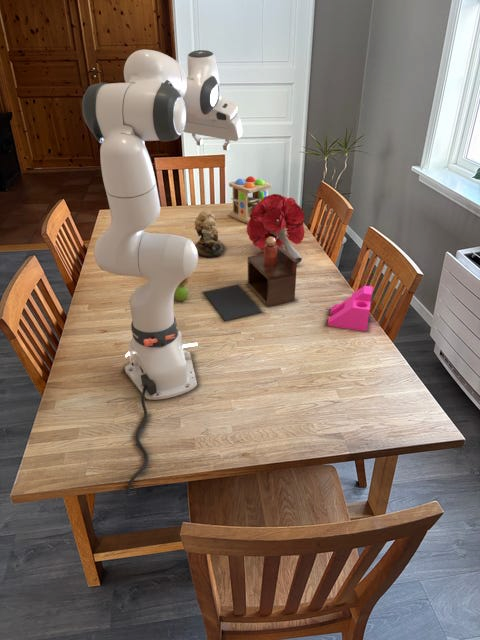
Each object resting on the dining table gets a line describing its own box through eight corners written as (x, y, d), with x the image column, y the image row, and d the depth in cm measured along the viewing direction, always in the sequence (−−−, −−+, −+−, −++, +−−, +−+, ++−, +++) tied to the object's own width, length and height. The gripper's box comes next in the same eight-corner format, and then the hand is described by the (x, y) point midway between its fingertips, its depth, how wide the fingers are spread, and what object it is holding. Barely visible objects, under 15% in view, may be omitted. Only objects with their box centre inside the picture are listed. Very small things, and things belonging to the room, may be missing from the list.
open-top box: (294, 300, 169) (297, 261, 161) (268, 306, 166) (269, 266, 158) (272, 279, 182) (273, 241, 174) (247, 284, 179) (247, 246, 171)
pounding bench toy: (283, 222, 230) (285, 184, 220) (260, 229, 222) (261, 190, 212) (251, 208, 245) (251, 172, 235) (228, 215, 237) (228, 178, 227)
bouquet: (313, 270, 203) (283, 215, 214) (330, 235, 182) (296, 175, 194) (266, 284, 196) (237, 226, 208) (278, 248, 176) (245, 186, 187)
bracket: (368, 314, 162) (372, 286, 156) (366, 331, 153) (371, 302, 148) (331, 309, 164) (334, 281, 159) (327, 325, 156) (330, 297, 151)
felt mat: (261, 312, 163) (261, 311, 162) (225, 321, 158) (225, 320, 158) (237, 285, 178) (237, 284, 178) (203, 292, 174) (203, 291, 174)
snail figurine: (189, 304, 167) (187, 272, 160) (170, 302, 168) (168, 270, 161) (193, 296, 171) (191, 265, 165) (175, 294, 172) (173, 263, 166)
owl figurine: (227, 258, 198) (226, 217, 188) (197, 260, 196) (195, 219, 187) (220, 240, 213) (219, 201, 203) (193, 242, 211) (191, 203, 202)
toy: (278, 265, 167) (279, 238, 162) (267, 268, 166) (267, 240, 160) (272, 260, 170) (273, 233, 165) (261, 263, 169) (262, 235, 163)
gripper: (172, 107, 151) (180, 147, 162) (234, 117, 145) (238, 157, 156) (181, 96, 154) (188, 136, 165) (242, 105, 148) (245, 146, 159)
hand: (213, 146), depth 161 cm, fingers open, 8 cm apart
